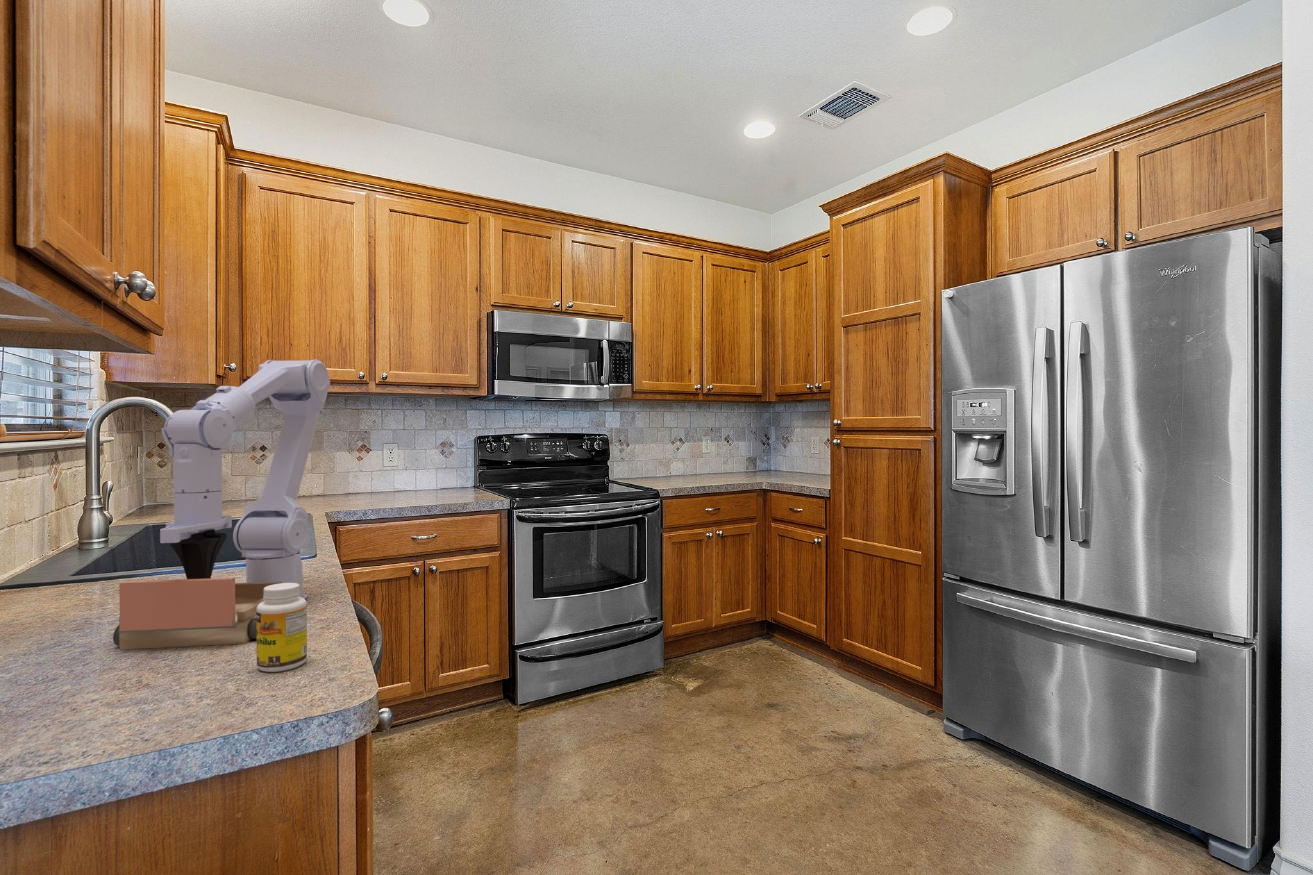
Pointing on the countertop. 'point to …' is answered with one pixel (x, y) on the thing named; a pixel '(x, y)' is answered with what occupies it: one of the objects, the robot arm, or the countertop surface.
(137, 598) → the panel
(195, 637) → the truck bed
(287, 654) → the supplement bottle
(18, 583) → the countertop surface
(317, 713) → the countertop surface
